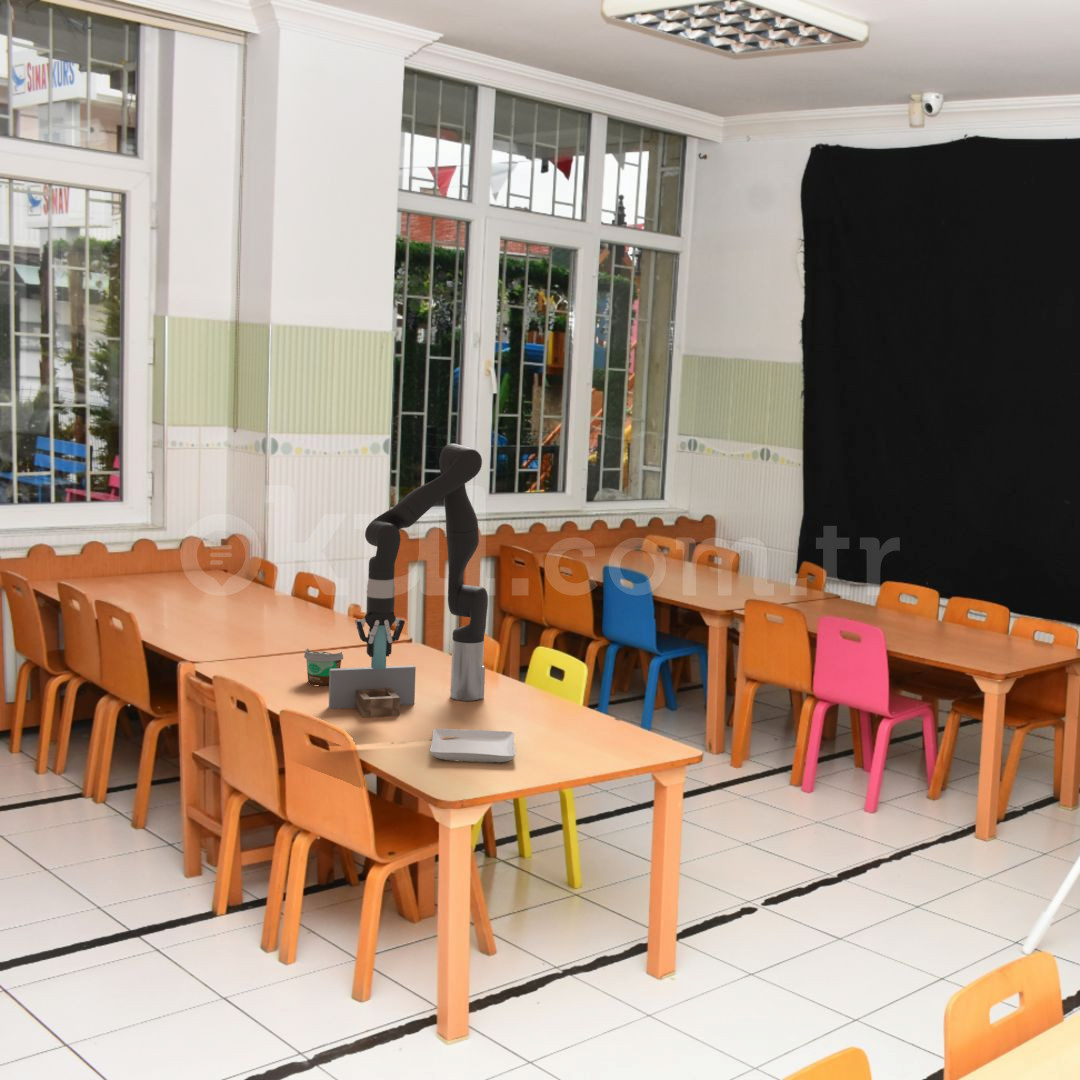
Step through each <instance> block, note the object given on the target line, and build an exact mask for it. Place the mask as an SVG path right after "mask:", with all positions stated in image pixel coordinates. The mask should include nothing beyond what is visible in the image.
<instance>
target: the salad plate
mask: <svg viewBox="0 0 1080 1080" xmlns="http://www.w3.org/2000/svg"><path fill="white" fill-rule="evenodd" d="M429 753H430V754H431V755H432V756H433V757H435V758H437V759H441V760H443V759H445V760H444V761H447V760H459V761H458V762H463V761H481V762H480V763H493V762H497V763H505V762H509V761H512V760H513V759H514V758H515V757H516V748H515V733H514V732H513V731H506V730H490V729H487V730H486V729H465V728H463V729H460V728H434V729H433V730H432V739H431V743H430V748H429ZM460 760H461V761H460Z"/></svg>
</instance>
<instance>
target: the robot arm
mask: <svg viewBox="0 0 1080 1080" xmlns="http://www.w3.org/2000/svg"><path fill="white" fill-rule="evenodd" d="M439 455H440V456H439V461H438V463H439V465H438V466H439V472H440V473H439V474H440V476H438V477H436V478H435V479H433V480H431V481H430V482H427V483H425V484H423V485H421V486H418V487H416V488H415V489H413V490H412V491H410V492H409V493H407V495H405V496H404V497H403V498H402V499H401V500H400V501H398V503H396V504H395V506H393V507H392V508H391V509H389V510H387V511H385V512H384V513H382V514H379V516H377V517H375V518H374V519H373V520H372V521H371V522H370V523H369V524H368V525H367V527H366V529H365V531H364V538H365V540H366V542H367V543H368V544H370V545H371V546H373V547H376V551H375V552H376V553H375V555H373V556H372V557H370V559H369V560H368V576H367V577H368V579H367V586H366V588H367V589H366V613H365V616H364V618H362V619H355V621H354V623H355V627H356V629H357V632H358V635H359V639H360V640H361V641H362V642H364V643H366V654H367V655H368V656H369V658H372V657H373V640H374V636H375V635H376V631H377V628H378V625H385V629H386V635H387V648H386V658H387V657H390V655H391V654H392V651H393V649H392V645H393V642H395V641H396V642H397V641H399V640H400V637H401V634H402V631H403V629H404V626H405V623H406V622H405V620H404V619H403V618H398V617H396V614H395V597H396V584H395V583H396V582H395V571H396V570H395V564H396V560H397V558H398V553H399V549H400V546H401V533H400V530H401V529H406V528H409V527H412V525H414V524H415V523H416V522H417V521H418V520H419V519H420V518H422V516H423V515H425V514H426V513H427V512H428V511H429V510H430V509H432V508H433V507H434V506H435V505H436V504H438V503H439V502H440V501H442V500H443V501H444V511H445V531H446V534H445V536H446V544H447V545H446V546H447V560H448V561H447V563H448V565H447V566H448V578H447V579H448V583H447V584H448V585H447V607H448V610H449V612H450V614H451V615H454V616H457V617H463V618H470V619H469V623H468V624H467V625H465V626H460V627H456V628H455V629H454V630H453V631H452V641H451V642H452V643H451V644H452V645H451V667H450V668H451V671H450V673H451V674H450V689H449V690H450V698H451V699H453V700H456V701H465V702H469V701H470V702H471V701H478V700H482V699H483V700H484V699H485V679H486V666H485V665H484V653H485V652H484V651H485V650H484V649H485V648H484V647H485V645H484V644H485V633H486V626H487V616H488V607H489V604H488V603H489V597H488V592H487V591H488V590H487V589H486V588H484V587H482V586H476V585H471V584H468V585H467V584H465V583H464V575H465V571H466V568H467V566H468V564H469V562H470V560H471V559H472V557H473V556H474V554H475V552H476V551H477V549H478V546H479V543H480V537H479V521H478V517H477V514H476V512H475V509H474V507H473V506H472V503H471V501H470V498H469V497H468V493H467V489H466V484H467V483H468V482H469V481H471V480H473V479H474V478H476V476H477V475H478V474H479V473H480V471H481V469H482V465H483V458H482V455H481V454H480V452H479V451H478V450H476V449H474V448H472V447H469V446H465V445H462V444H457V443H449V444H446V445H445V446H444V447H443V448H442V450H441V452H440V454H439ZM365 624H367V625H368V633H367V636H366V633H365V630H364V627H365V626H366V625H365ZM393 624H394V625H395V629H394V630H393V633H392V632H391V627H392V625H393ZM392 634H393V635H392Z"/></svg>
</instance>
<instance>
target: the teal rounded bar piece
mask: <svg viewBox="0 0 1080 1080" xmlns="http://www.w3.org/2000/svg"><path fill="white" fill-rule="evenodd" d="M386 648H387V635H386V629H385V625H378V628H377V631H376V635H375V636H374V640H373V657H370V658H371V660H370V661H371V664H370V665H371V666H370V667H371V668H373V669H385V668H386V666H387V657H386Z"/></svg>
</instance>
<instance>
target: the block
mask: <svg viewBox="0 0 1080 1080" xmlns="http://www.w3.org/2000/svg"><path fill="white" fill-rule="evenodd" d="M400 707H401V705H400V697H399V696H398V695H397V694H396V693H395V692H394V691H393V690H392V689H391V688H390V689H369V690H356V701H355V709H356V710H357V712H358V713H359V714H360V715H361V716H362V718H374V717H377V718H379V717H395V716H400Z"/></svg>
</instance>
